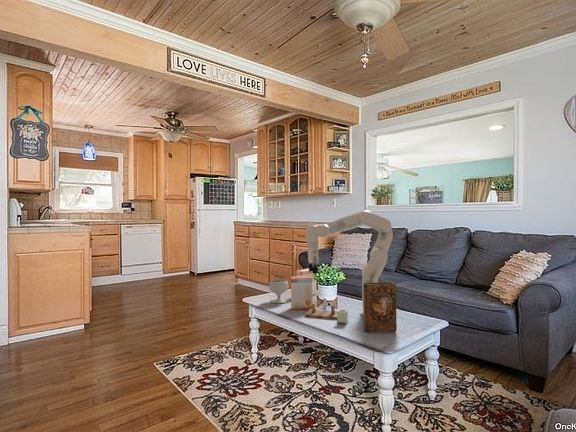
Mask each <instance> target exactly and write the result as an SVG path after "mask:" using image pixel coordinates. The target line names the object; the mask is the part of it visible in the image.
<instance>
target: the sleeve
mask: <svg viewBox="0 0 576 432" xmlns="http://www.w3.org/2000/svg"><path fill="white" fill-rule="evenodd" d="M348 313H349V312H348V309H341V308H340V309H338V310H337V320H336V321H337V322H336V324H337V325H341V326H342V325H344V326H347V325H348V323H349V319H348V318H349V316H348V315H349V314H348Z"/></svg>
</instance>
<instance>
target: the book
mask: <svg viewBox="0 0 576 432" xmlns="http://www.w3.org/2000/svg"><path fill="white" fill-rule="evenodd" d="M363 298H364V316H363V332H364V333H366V334H371V333H372V334H373V333H374V334H377V333H378V334H382V333H385V334H386V333H396V332H397V327H398V326H397V286H396V284H393V283H392V282H378V283H363Z"/></svg>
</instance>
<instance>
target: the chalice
mask: <svg viewBox="0 0 576 432" xmlns="http://www.w3.org/2000/svg"><path fill="white" fill-rule="evenodd" d="M289 288H290V286H289V282H288V280H287V279H284V278H275V279H274V278H273V279H271V280H270V281H269V283H268V289H269V290H270V292H272V293H274V294H275V295H276V296H277V298H274V299H271V300H269V301H270V303H273V304H284V303H287V302H288V299H285V298H281V296H282V295H283V294H284V293H285V292H287V291H288V290H289Z"/></svg>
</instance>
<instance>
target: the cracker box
mask: <svg viewBox="0 0 576 432" xmlns="http://www.w3.org/2000/svg"><path fill="white" fill-rule="evenodd" d="M290 295H291V296H290V299H291V300H290V301H291V302H290V303H291V306H290V307H291V310H307V311H309V310H310V309H312V304H314V300H313V299H314V295H313V286H312V276H297V275H296V276H291V278H290Z"/></svg>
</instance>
